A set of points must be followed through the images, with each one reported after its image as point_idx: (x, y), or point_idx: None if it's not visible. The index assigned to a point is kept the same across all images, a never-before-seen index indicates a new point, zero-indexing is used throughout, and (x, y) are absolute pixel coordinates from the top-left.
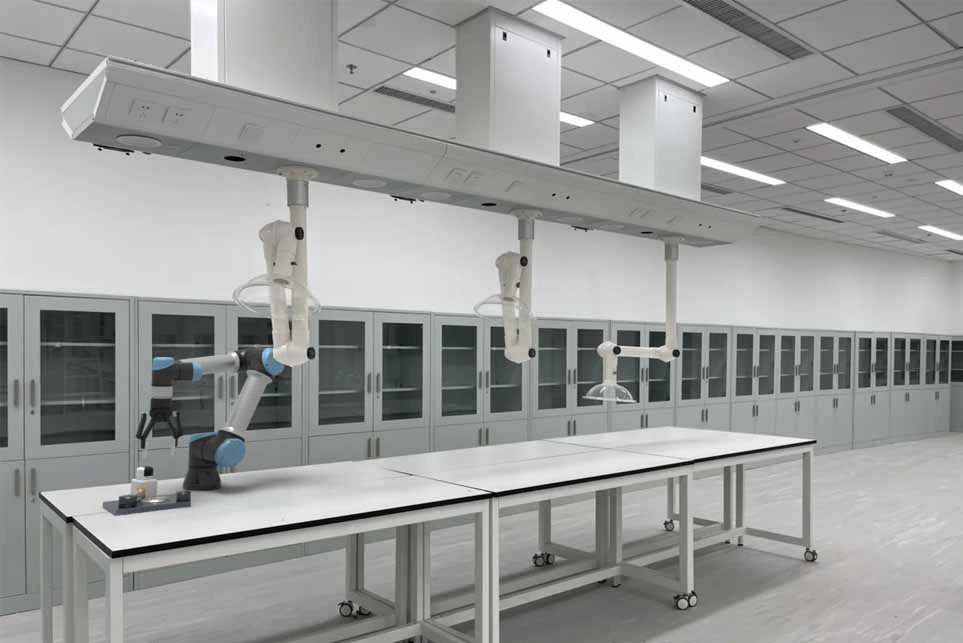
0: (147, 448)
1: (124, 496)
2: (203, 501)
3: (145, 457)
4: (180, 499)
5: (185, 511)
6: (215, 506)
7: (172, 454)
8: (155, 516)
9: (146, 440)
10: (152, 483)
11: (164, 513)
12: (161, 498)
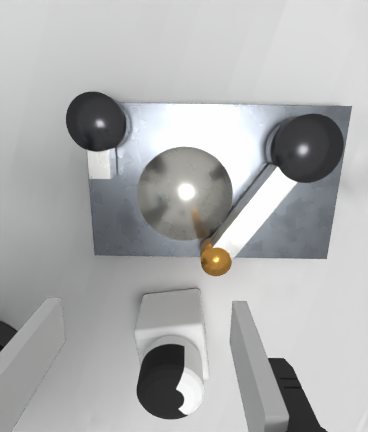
0: (246, 347)
1: (319, 157)
2: (29, 160)
3: (243, 302)
4: (119, 104)
5: (130, 29)
6: (11, 49)
7: (57, 306)
8: (244, 9)
9: (277, 422)
10: (154, 321)
11: (201, 42)
12: (162, 194)
